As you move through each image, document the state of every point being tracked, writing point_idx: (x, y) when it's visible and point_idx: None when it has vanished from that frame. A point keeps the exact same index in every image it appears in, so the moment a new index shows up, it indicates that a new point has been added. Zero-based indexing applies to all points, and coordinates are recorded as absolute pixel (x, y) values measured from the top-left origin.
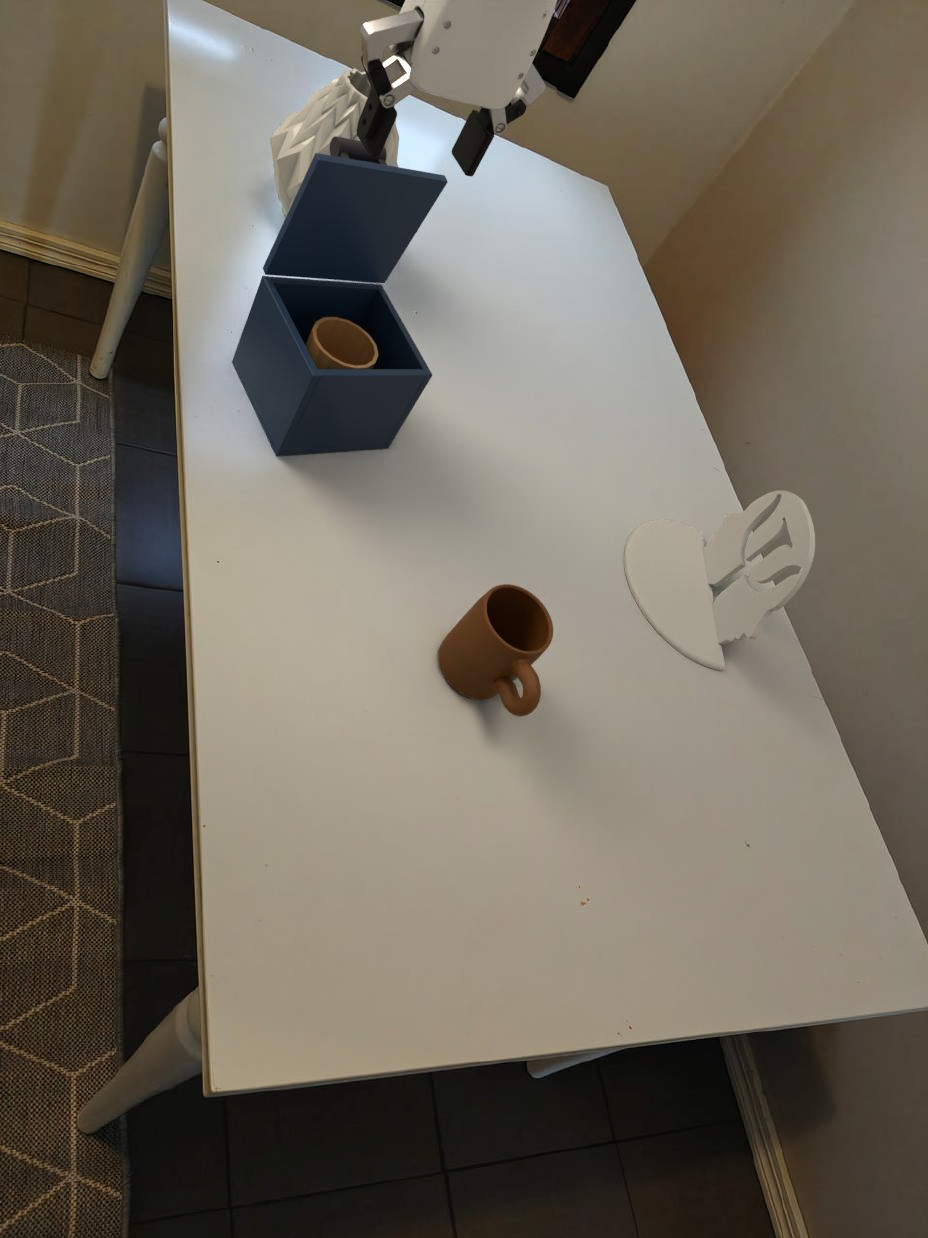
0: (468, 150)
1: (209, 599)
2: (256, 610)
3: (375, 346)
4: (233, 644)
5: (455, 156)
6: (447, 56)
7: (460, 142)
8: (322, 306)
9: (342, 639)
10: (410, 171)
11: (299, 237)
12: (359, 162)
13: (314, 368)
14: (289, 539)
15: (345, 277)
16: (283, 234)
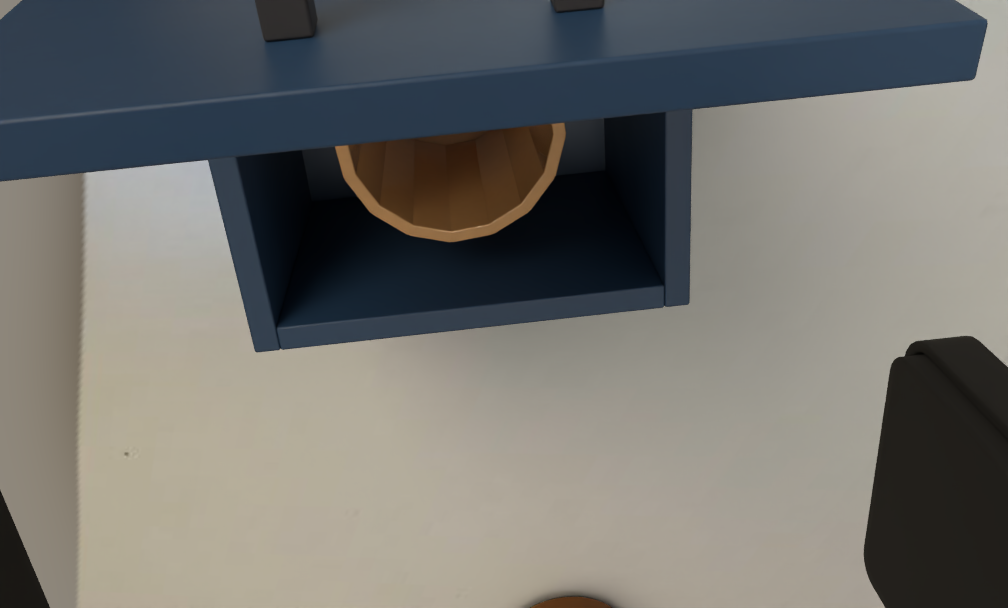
0: (943, 600)
1: (103, 517)
2: (187, 537)
3: (558, 143)
4: (138, 585)
5: (888, 425)
6: None
7: (953, 472)
8: None
9: (337, 587)
10: (661, 81)
11: None
12: (227, 120)
13: (264, 328)
14: (282, 412)
15: None
16: None
